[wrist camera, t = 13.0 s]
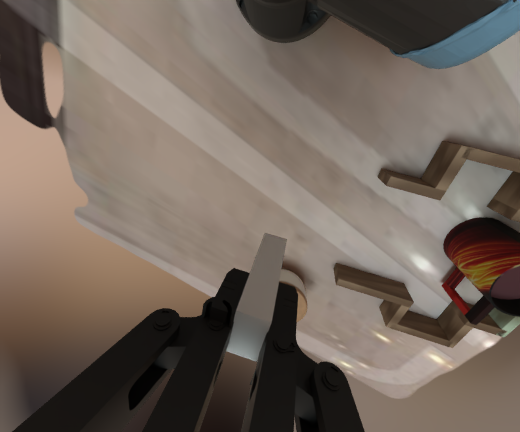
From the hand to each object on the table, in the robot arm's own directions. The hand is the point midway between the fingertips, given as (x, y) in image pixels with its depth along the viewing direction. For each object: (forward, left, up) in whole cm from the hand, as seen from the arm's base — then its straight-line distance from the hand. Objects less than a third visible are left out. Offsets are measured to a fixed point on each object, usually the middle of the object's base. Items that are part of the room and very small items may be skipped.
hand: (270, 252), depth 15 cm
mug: (+7, +35, -29) cm, 46 cm away
